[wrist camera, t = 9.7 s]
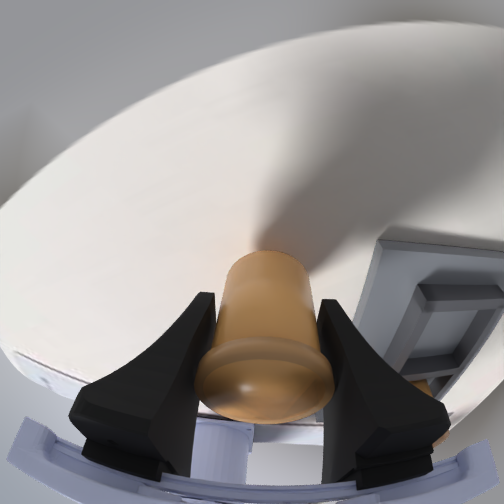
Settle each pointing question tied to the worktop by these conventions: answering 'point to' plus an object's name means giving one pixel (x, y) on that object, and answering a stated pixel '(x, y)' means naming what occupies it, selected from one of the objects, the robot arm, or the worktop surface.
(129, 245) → the worktop surface
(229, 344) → the jaw peg
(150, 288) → the worktop surface
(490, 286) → the housing
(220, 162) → the worktop surface
